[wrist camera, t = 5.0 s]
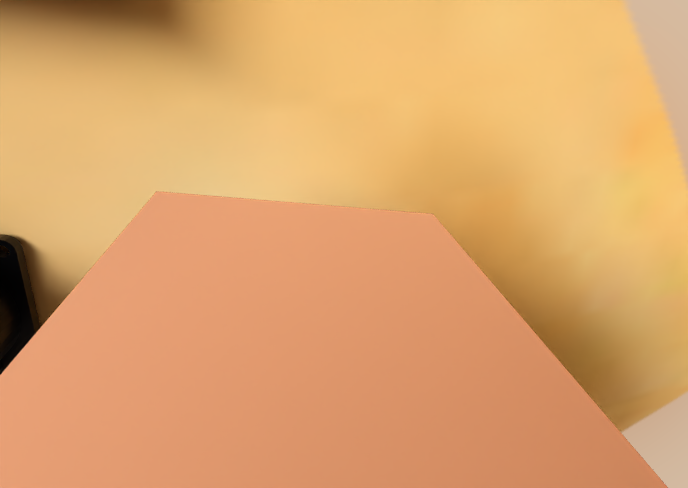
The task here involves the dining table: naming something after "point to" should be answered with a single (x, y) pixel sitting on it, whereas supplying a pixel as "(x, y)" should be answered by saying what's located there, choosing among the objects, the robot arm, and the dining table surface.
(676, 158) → the dining table surface
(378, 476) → the terracotta block
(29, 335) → the robot arm
